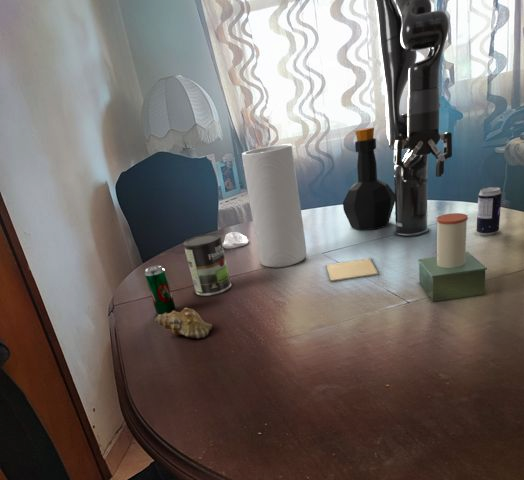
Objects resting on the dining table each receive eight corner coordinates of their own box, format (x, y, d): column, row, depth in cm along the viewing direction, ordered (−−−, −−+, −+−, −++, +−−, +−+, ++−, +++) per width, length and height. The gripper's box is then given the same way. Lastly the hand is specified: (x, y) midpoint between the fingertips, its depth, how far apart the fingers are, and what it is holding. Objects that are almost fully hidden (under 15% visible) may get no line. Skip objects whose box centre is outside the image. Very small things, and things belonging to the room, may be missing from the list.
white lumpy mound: (231, 227, 168) (252, 228, 163) (234, 239, 171) (254, 240, 165) (213, 236, 162) (234, 237, 156) (216, 248, 164) (236, 249, 158)
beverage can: (500, 234, 127) (504, 190, 121) (478, 237, 129) (480, 192, 123) (496, 229, 132) (499, 185, 126) (474, 231, 133) (476, 188, 128)
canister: (432, 261, 103) (433, 216, 98) (460, 256, 102) (461, 211, 97) (441, 270, 98) (441, 223, 93) (469, 265, 97) (472, 218, 92)
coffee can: (238, 282, 130) (228, 233, 123) (217, 297, 123) (204, 245, 116) (210, 280, 135) (198, 233, 129) (187, 294, 128) (174, 245, 121)
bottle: (363, 217, 167) (357, 126, 153) (404, 219, 156) (402, 121, 141) (336, 230, 158) (327, 135, 144) (377, 233, 147) (372, 131, 132)
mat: (326, 266, 129) (326, 264, 129) (369, 259, 128) (369, 258, 128) (330, 281, 119) (330, 280, 118) (378, 274, 117) (378, 273, 117)
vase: (313, 251, 142) (300, 141, 127) (297, 268, 131) (280, 150, 116) (271, 252, 149) (254, 147, 133) (252, 269, 138) (231, 156, 123)
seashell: (181, 357, 103) (150, 324, 100) (184, 346, 111) (155, 315, 108) (213, 332, 102) (182, 297, 99) (214, 322, 109) (185, 290, 106)
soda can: (158, 310, 122) (144, 267, 116) (176, 306, 122) (164, 263, 116) (155, 317, 117) (141, 273, 112) (175, 314, 117) (162, 269, 112)
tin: (418, 283, 108) (418, 259, 105) (466, 276, 107) (467, 251, 104) (432, 302, 99) (432, 276, 96) (485, 294, 97) (487, 267, 95)
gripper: (445, 106, 117) (443, 173, 125) (390, 115, 118) (391, 181, 125) (458, 105, 111) (455, 176, 118) (399, 115, 111) (399, 185, 118)
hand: (422, 179), depth 121 cm, fingers open, 8 cm apart
